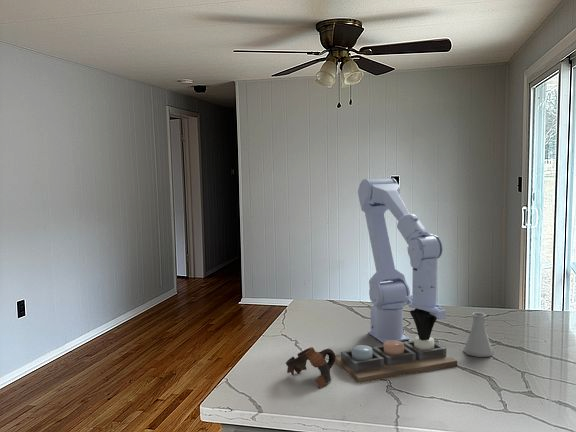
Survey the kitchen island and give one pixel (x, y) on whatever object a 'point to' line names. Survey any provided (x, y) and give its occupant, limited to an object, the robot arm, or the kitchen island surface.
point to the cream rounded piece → (423, 343)
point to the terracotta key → (393, 347)
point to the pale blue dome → (361, 352)
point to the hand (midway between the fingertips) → (424, 339)
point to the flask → (478, 338)
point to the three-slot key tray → (394, 362)
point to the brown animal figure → (313, 364)
